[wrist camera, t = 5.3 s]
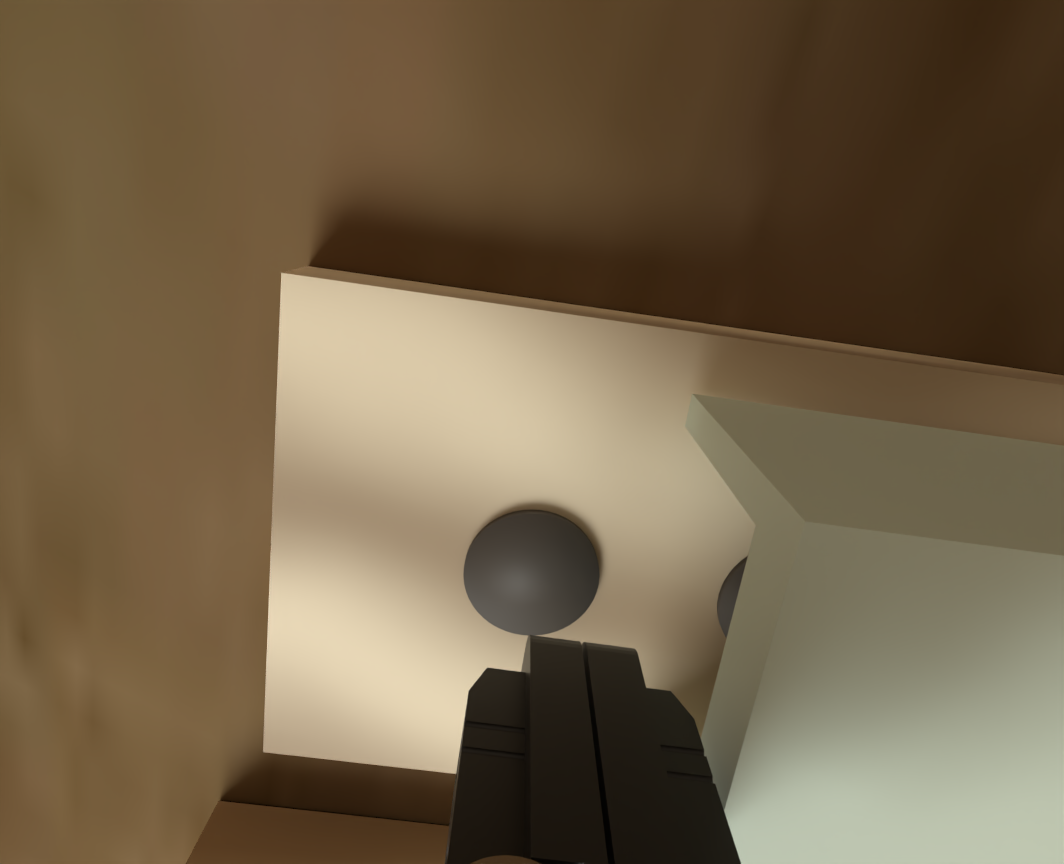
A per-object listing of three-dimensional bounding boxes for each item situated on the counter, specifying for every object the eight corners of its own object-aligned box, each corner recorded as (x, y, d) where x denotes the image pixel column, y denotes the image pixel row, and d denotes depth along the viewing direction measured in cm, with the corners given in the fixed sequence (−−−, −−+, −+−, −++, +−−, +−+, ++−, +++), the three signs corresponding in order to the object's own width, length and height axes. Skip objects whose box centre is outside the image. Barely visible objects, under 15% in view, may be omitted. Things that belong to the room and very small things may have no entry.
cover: (692, 393, 12) (805, 521, 7) (1237, 469, 13) (1699, 639, 8) (611, 766, 15) (653, 1058, 10) (1074, 819, 15) (1347, 1124, 10)
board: (307, 265, 14) (220, 287, 10) (1063, 375, 14) (1259, 436, 10) (286, 704, 16) (212, 854, 13) (912, 777, 17) (1022, 939, 13)
